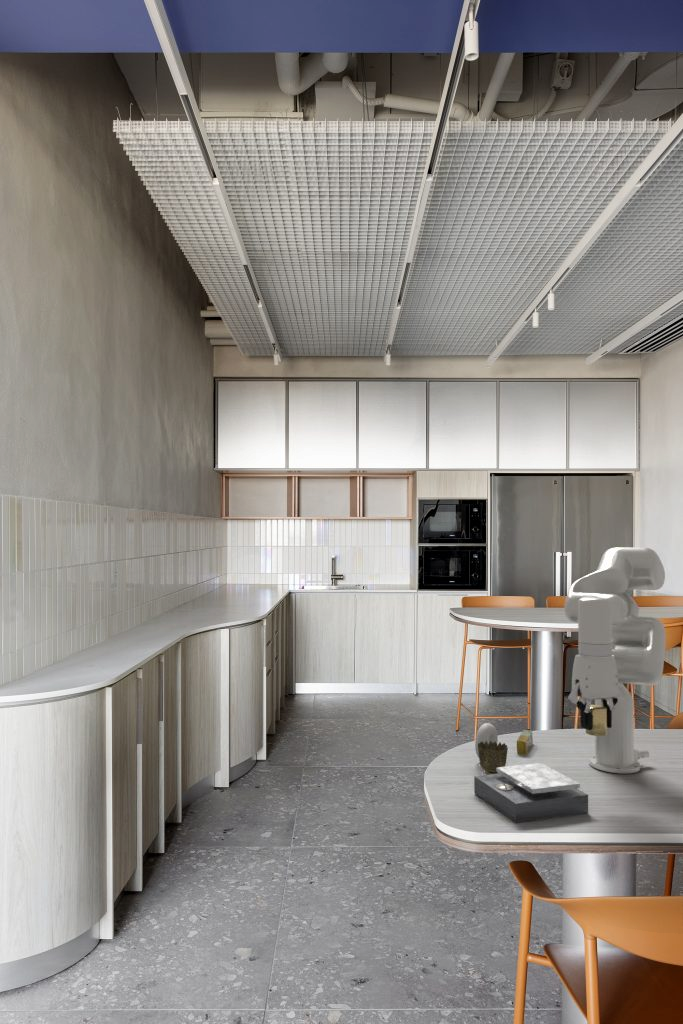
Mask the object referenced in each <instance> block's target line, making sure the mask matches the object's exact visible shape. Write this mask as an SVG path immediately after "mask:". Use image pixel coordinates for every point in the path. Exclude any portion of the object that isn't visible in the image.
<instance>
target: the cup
mask: <svg viewBox="0 0 683 1024" xmlns="http://www.w3.org/2000/svg"><path fill="white" fill-rule="evenodd" d="M508 748H509V746H508V745H507V744H506V743H505V742H504V743H501V741H499V743H498V742H497V743H496V742H495V741H494V743H493V742H492V741H490V743H489V745H488V743H487V741H486V742H485V744H484V743H483V742H482V741H481V742H480V744H479V743H478V753H479V758H478V760H479V763H480V767H481V768H482V769H483V770H484V771H485V772H484V775H490V774H499V773H498V772H497V771H496V768H497V767H506V766H507V765H506V764H507V759H508V758H507V757H508Z"/></svg>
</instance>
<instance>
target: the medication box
mask: <svg viewBox="0 0 683 1024" xmlns="http://www.w3.org/2000/svg"><path fill="white" fill-rule="evenodd" d="M533 741H534V740H533V731H532V730H531V729H523V730H522V732H521V733H520V735H519V737H518V738H517V740H516V754H518V755H522V756H525V755H528V753H529V752H530V749H531V748H532V747H533V743H534V742H533Z"/></svg>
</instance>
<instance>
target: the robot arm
mask: <svg viewBox="0 0 683 1024" xmlns="http://www.w3.org/2000/svg"><path fill="white" fill-rule="evenodd" d="M665 578H666V573H665V567H664V565H663V562H662V561H661V557H659V555H658V553H657V552H656V550H654V549H651V548H649V547H642V546H641V547H637V546H636V547H633V546H631V547H630V546H629V547H627V546H624V547H623V546H620V547H619V546H618V547H617V546H616V547H611V548H609V549H607V550H605V551H604V552H603V554H602V557H601V559H600V561H599V564H598V566H597V568H596V571H594V572H592V573H589V574H587V575H584V576H582V577H581V578H579V579H577V580H575V581H574V582H573V583H572V584H571V585H570V588H569V590H568V592H567V594H566V598H565V601H564V614H565V617H566V618H567V619H568V621H570V622H572V623H576V624H577V626H578V627H577V629H578V630H577V631H578V635H577V637H578V641H577V643H578V644H577V645H578V647H577V648H578V654H575V657H574V659H573V660H574V661H573V665H572V674H571V675H572V676H571V692H570V693H569V694H568V697H567V699H568V700H569V701H570V702H571V703H572V704H574V706H575V707H576V708H577V710H579V711H580V713H579V714H580V718H579V720H580V727H581V728H583V729H585V730H586V729H587V730H591V729H592V714H591V713H590V712H589V710H590V706H591V705H592V702H593V701H594V705H601V706H605V707H607V735H605V736H594V737H595V738H594V741H595V742H594V743H595V754H594V755H593V756H591V757H590V758H589V760H588V762H589V765H590V766H591V767H592V768H593V769H596V770H600V771H603V772H607V773H612V774H624V775H625V774H635V773H638V772H639V771H641V766H642V765H641V763H640V762H639V760H640V759H646V758H650V752H649V750H647V749H644V750H643V749H642V750H639V749H638V748H635V724H634V723H635V722H634V721H635V719H634V718H635V717H634V715H635V713H634V712H635V711H634V699H633V697H632V695H631V692H630V691H629V689H627V687H626V686H625V685H624V684H631V685H642V686H656V685H658V684H659V683H660V682H661V680H662V679H663V673H664V664H665V663H664V662H665V652H666V641H667V640H666V637H667V636H666V629H665V625H664V623H663V622H662V621H661V620H660V619H659V618H656V617H651V616H650V617H649V616H640V615H639V613H640V608H639V606H638V604H637V602H636V601H635V600H634V598H633V597H632V596H631V595H629V594H628V593H627V592H626V590H636V591H658V590H660V589H662V587H663V586H664V584H665V581H666V580H665ZM578 697H579V699H578Z"/></svg>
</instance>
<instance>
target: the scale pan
mask: <svg viewBox="0 0 683 1024" xmlns="http://www.w3.org/2000/svg"><path fill="white" fill-rule="evenodd" d="M496 771H497V772H498V773H499V774H501V775H502V776H504V777H506V778H507V779H509V780H511V781H512V782H514V783H515V784H517V785H519V786H520V787H522V788H524V789H525V790H527V791H528V792H530V793H532V794H536V793H544V792H552V791H561V790H569V789H581V783H580V782H579V781H575V780H574V779H572V778H570V777H568V776H567V775H564V774H563V773H561V772H559V771H557V770H555V769H553V768H552V767H549V766H548V765H546V764H544V763H542V762H536V763H526V764H519V765H510V766H509V765H505V767H497V768H496Z"/></svg>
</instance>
